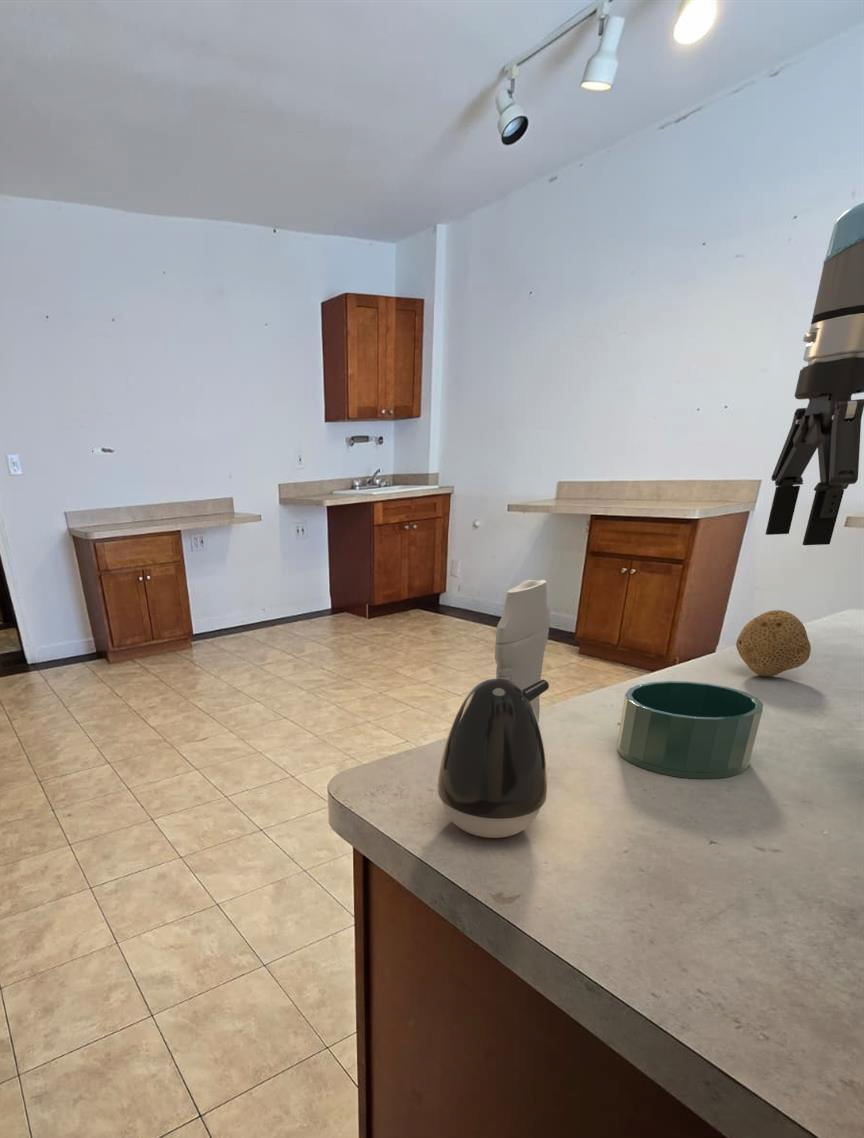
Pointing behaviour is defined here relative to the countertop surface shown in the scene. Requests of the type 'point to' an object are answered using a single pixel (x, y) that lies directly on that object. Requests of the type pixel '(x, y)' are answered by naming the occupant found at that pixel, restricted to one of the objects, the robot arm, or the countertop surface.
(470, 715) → the pump dispenser
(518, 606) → the plastic bottle
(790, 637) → the natural sponge
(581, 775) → the countertop surface
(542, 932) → the countertop surface
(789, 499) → the robot arm
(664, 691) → the crock
